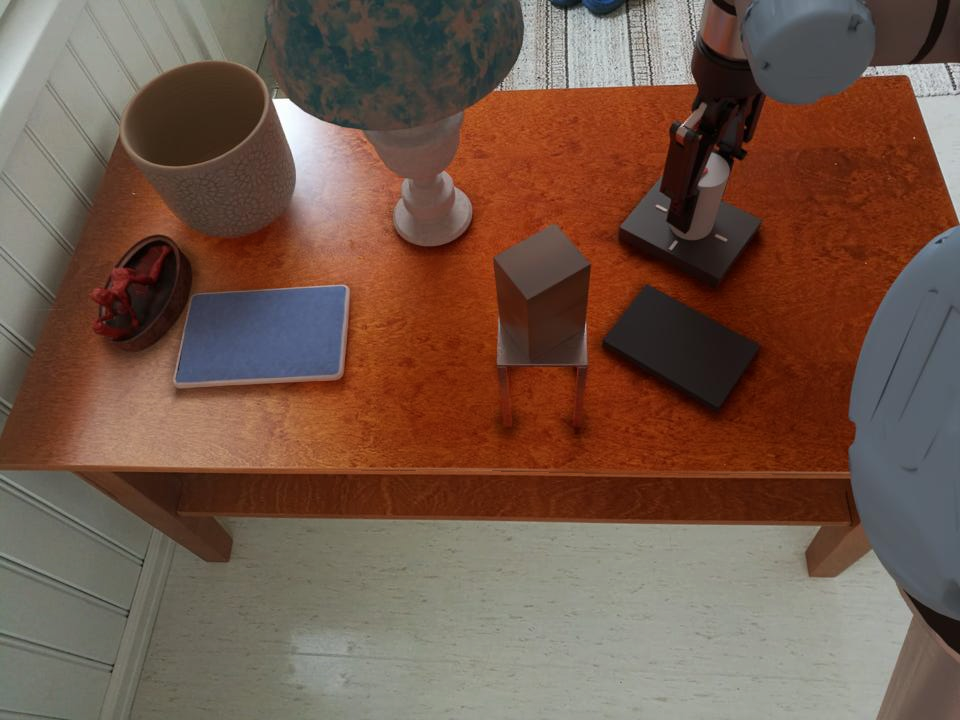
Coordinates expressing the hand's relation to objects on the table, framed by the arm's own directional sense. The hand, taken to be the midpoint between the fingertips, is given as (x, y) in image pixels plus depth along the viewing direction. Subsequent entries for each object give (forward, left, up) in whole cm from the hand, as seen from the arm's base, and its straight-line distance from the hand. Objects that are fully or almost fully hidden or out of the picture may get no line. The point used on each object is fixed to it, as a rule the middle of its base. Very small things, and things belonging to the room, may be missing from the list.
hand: (694, 210), depth 84 cm
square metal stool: (+2, +27, -4) cm, 27 cm away
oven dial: (0, 0, -2) cm, 2 cm away
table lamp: (+27, +15, -4) cm, 31 cm away
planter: (+49, +27, -4) cm, 56 cm away
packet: (+2, +27, +10) cm, 29 cm away
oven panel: (0, 0, -4) cm, 4 cm away
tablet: (+32, +40, -4) cm, 51 cm away
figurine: (+48, +44, -4) cm, 65 cm away
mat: (-7, +14, -4) cm, 16 cm away
